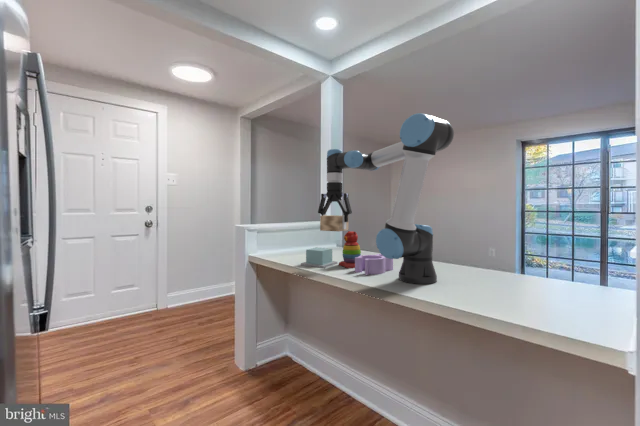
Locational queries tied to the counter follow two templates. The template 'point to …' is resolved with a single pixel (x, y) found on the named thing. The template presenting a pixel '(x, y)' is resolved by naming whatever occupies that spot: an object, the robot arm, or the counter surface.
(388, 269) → the clip
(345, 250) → the stacking bear
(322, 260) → the tower base
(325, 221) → the oak brick
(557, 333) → the counter surface
